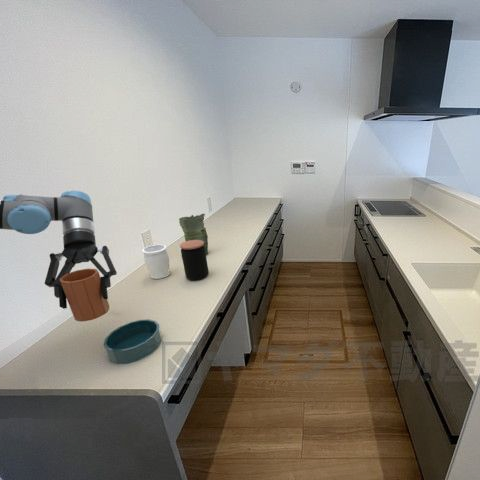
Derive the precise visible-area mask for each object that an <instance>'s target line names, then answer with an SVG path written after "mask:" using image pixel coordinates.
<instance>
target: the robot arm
mask: <svg viewBox="0 0 480 480" xmlns="http://www.w3.org/2000/svg"><path fill="white" fill-rule="evenodd" d="M91 200H92V199H91V197H90V196H89V195H88V194H87V193H85V192H83V191H81V190H73V189H72V190H66V191H64V192H62V193H61V194H60V197H59V196H54V197H53V196H42V195H41V196H40V195H23V194H6V195H4V196H3V197H2V199H0V230H10V231H15V232H17V233H20V234H24V235H35V234H39V233H42V232H44V231H45V230H46V229H47V228H48V227H49V226H50V225H51V222H62V223H61V224H62V235H63V236H62V240H63V241H62V242H63V250H62V252H59V253H58V252H57V253H54V252H51V253H49V259H50V261H49V265H48V269H47V273H46V276H45V280H44V284H45V286H47V287H49V288H53V293H54V294H53V295H54V297H55V298H57V299H58V301H59V307H60V308H61V309H63V310H65V309H68V301H67V298H66V295H65V293H64V290H63V287H62V285H61V282H60V280H59V279H60V278H61V277H63V276H64V275H66V274H68V273H71V272H72V269H73V268H75V267H76V265H77V264H81V263H89V262H91V264H92V265H94V267H95V269H97V271H98V272H99V273H101V274H102V276H100V279H101V288H102V297H103V298H104V299H107V300H108V299H109V295H108V289H109V288H111V286H112V283H111V277H114V276H117V273H118V272H117V270H116V267H115V266H114V263H113V261H112V259H111V257H110V249H109V247H108V246H107V245H103V246H102V247H100V246H99V247H98V246H97V242H96V235H95V233H96V232H95V224H94V223H95V222H94V214H93V212H94V211H93V205H92V201H91ZM98 253H100V255H102V257H103V259H104V261H105V263H106V265H107V268H108V270H109V271H107V270H105V268H104V266H102V265H101V263H99V261H98V260H97V259H96V258H95V256H96V255H97V254H98ZM62 258H65V261H64V264H63V266H62V268H61V269H60V271H59V267H60V262H61V261H62V260H63V259H62ZM58 271H59V273H58Z"/></svg>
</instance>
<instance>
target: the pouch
mask: <svg viewBox="0 0 480 480" xmlns="http://www.w3.org/2000/svg"><path fill="white" fill-rule="evenodd" d="M205 216H206V213H201V214H199V215H197V214H196V215H195V216H194V215H193V214H191V215H190V216H182V217H179V218H178V221H179V222H178V223H179V226H180V227H181V230H182V231H183V235H184V240H185V241H184V242H186V241H190V240H202V241H203V242H204V247H205V252H206V255H208V254H209V241H208V239H209V236H208V233H207V228H206V227H205V223H204V220H205Z"/></svg>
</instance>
